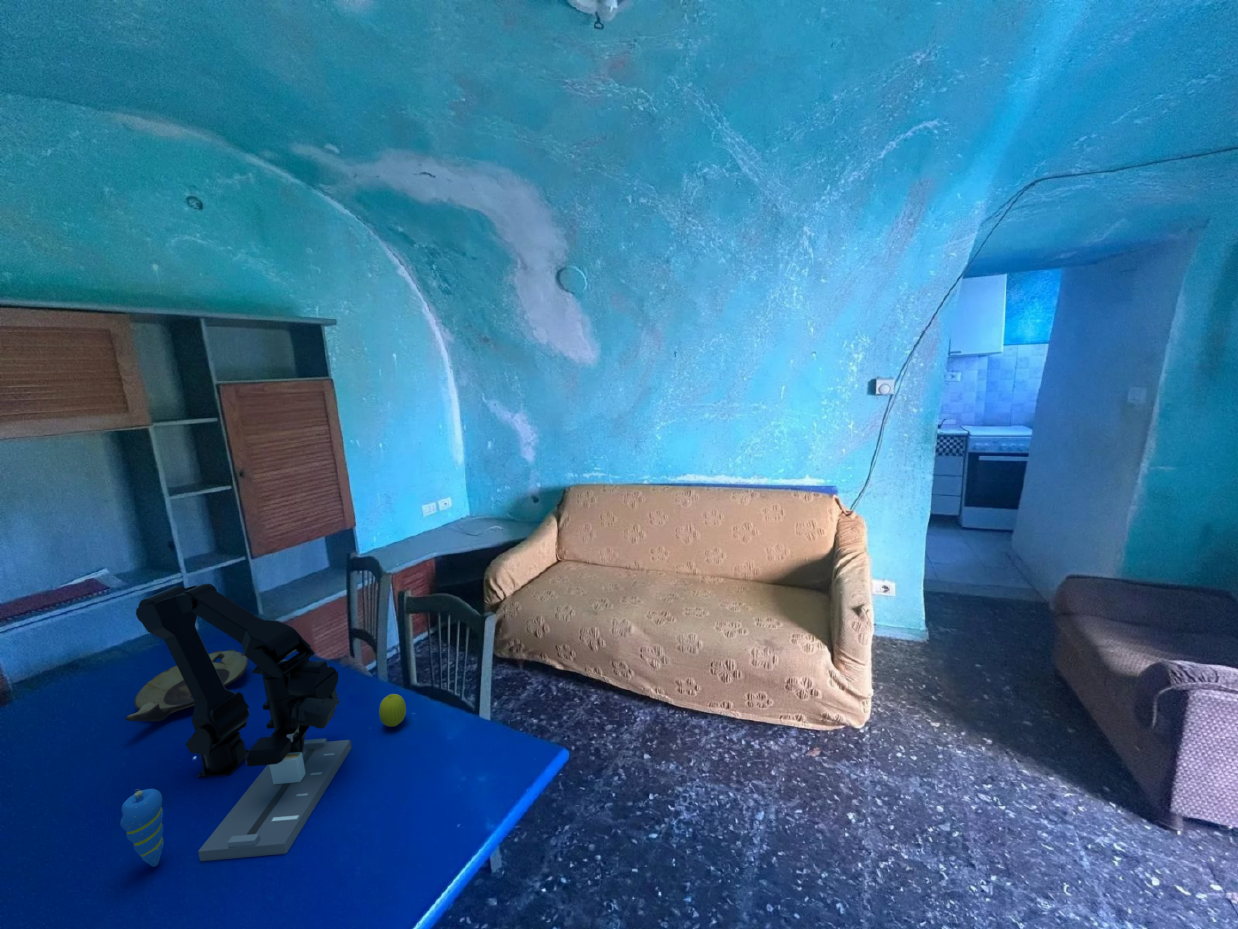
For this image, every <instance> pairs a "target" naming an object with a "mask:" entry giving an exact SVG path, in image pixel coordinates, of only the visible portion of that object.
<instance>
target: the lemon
mask: <svg viewBox="0 0 1238 929" xmlns="http://www.w3.org/2000/svg"><path fill="white" fill-rule="evenodd" d="M406 706H407V705H406V702H405V700H404V697H402V696H401V695H400V694H396V693H391V694H388V695H386V697H384V698H383V699H382V700H381V702H380V704H379V709H378V710H379V711H378V714H379V718H380V721H381V723H382V724H383V725H384V726H385V727H386V726H387V727H393V728H394V727H397V726H398V725H399V724H401V723H402V722H403V720H404V719H405V717H406V714H407V707H406Z"/></svg>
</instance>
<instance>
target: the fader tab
mask: <svg viewBox="0 0 1238 929" xmlns="http://www.w3.org/2000/svg"><path fill="white" fill-rule="evenodd" d="M270 770H271V775H272V780H273V784H284V783H296V782H301V780H302V779H303V777H304V776H305V774H306V772H305V767H304V762H303V757H302V752H294V753H288V754H287V755H286V757H285V758H284V759H283V760H282V762H280V763H278V764H272V765H270Z"/></svg>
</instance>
